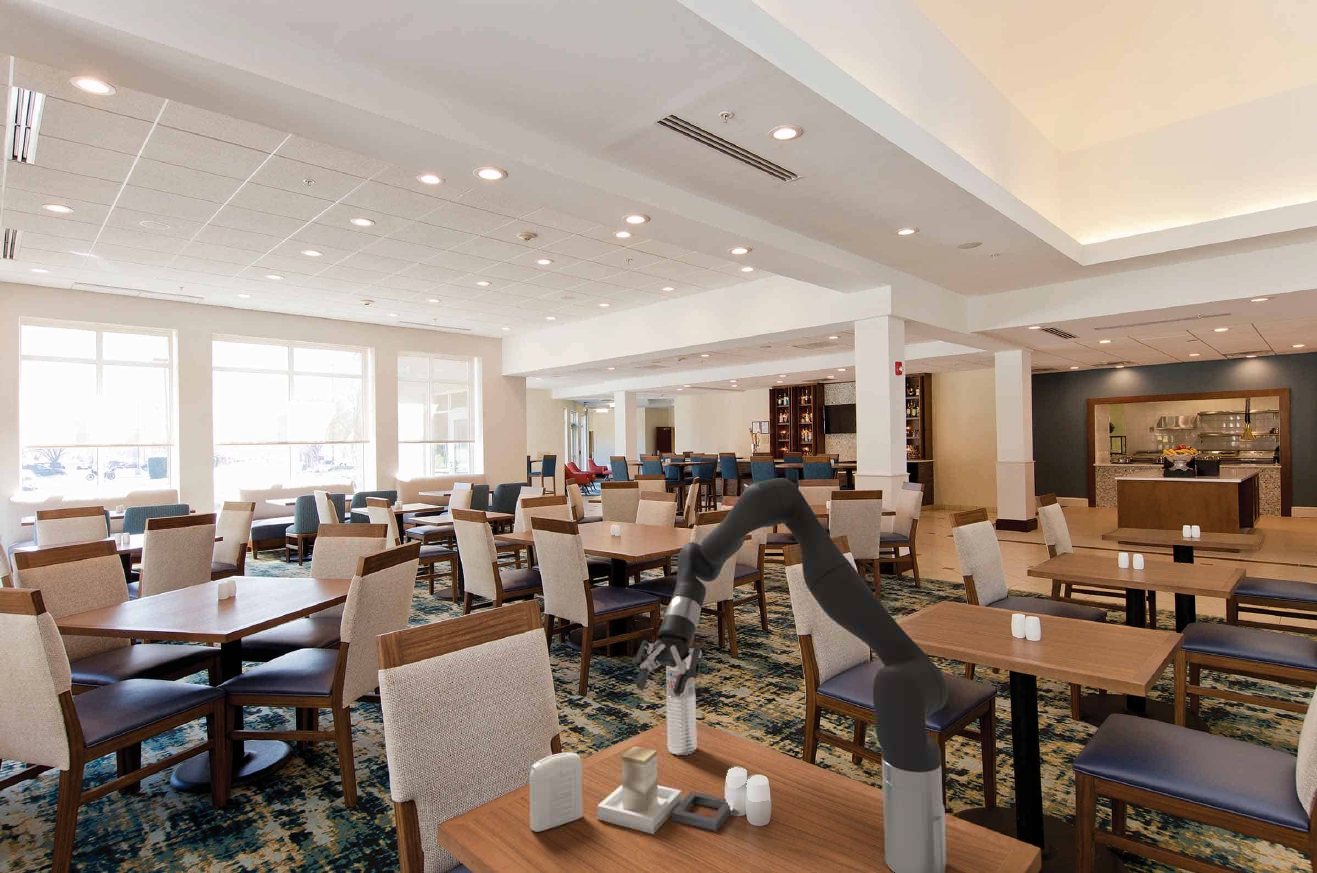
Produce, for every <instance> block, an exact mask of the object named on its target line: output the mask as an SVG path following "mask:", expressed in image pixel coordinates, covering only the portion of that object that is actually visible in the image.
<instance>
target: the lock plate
mask: <svg viewBox="0 0 1317 873" xmlns="http://www.w3.org/2000/svg"><path fill="white" fill-rule="evenodd" d="M726 799H727V798H723V797H719V796H714V795H710V794H705V793H700V792H697V791H690V793H688V795H687V796H685V798H684V799H682V802H681V803H680V804H679V805H678V806H677V807H676V808H675V809H674V810H673V812H672V815H671V821H672V822H676V823H679V824H683V825H688V826H691V827H695V828H699V829H703V830H707V831H710V832H711V831H712V832H715V833H717V831H718V830H719V829H720V828H721V826H722V825H723V824H724V822H725V821H726V819H727V818H728V817H729V816H730V815H731V813H732V812H731V810H730V806H729V805H728V803H727V802H726ZM694 805H699V806H704V807H708V808H712V809H717V811H716V812H715V814H713V816H712V817H709V816H704V815H701V814H698V813H697V814H696V813H693V812H689V811H690V810H691V809H692V808H693V807H694Z"/></svg>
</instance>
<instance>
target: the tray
mask: <svg viewBox="0 0 1317 873" xmlns="http://www.w3.org/2000/svg"><path fill="white" fill-rule="evenodd" d="M657 786H658V803H657V804H656V805H655V806H654V807H653V808H652V809H651V810H650V811H649V812H648V813H647V814H646V815H644V814H640V813H636V812H632V811H628V810H624V809H623V794H622V784H621V785H620V786H619V787H617V788H616V789H615V790H614V791H612V793H610V794H609V795H608V796H607V797H605V798H604V799H603V800H602V801H601V802H600V803H598V805H597V806H596V808H597V809H596V811H597V812H596V814H597V815H596V816H597V820H600V821H602V820H603V822H607V823H609V824H615V825H618V826H622V827H625V828H629V827H630V828H629V829H633V830H637V831H641V832H643V833H648V834H651V835H654V834H656V832H657V831H658V830H659V829H660V827H662V826H663V824H664V823H665V822H666V821H667V820H668V819H669V818H670V817H672V812H673V810H674V809H675V808H676V807H677V806H678V805H679V804H680V803H681V802H682V801H683V794H682V792H683V791H682V790H680V789H676V788H672V787H668V786H664V785H663V786H662V785H659V784H657Z"/></svg>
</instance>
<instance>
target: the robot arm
mask: <svg viewBox="0 0 1317 873" xmlns="http://www.w3.org/2000/svg"><path fill="white" fill-rule="evenodd" d="M782 524H783V525H784V526H785V527H787V529H788V530H789V532H791V534H792V535H793V537H794V539H795V540H796V542H797V544H798V546H799V549H800V554H801V566H802V574H803V578H804V579H803V580H804V583H805V584H806V587H807V589H808V591H809V592H810V593H811V595H812V596H813V598H814V599H815V601H816V602H817V604H818V605H819V606H820V608H821V609H822V610H823V612H824V613H825V614H826V615H827V616H828V617H829V618H830V619H831V620H832V621H833V622H835V623H837V625H838V626H840V627H841V628H843V629H845V630H846V631H848V632H849V633H850V634H852V635H854V636H855V637H856V638H858V639H859V640H860V641H862V642H863V643H865V644H866V646H868V647H869V648H870V650H872V651H873V652H874V654H875V655H876V656H877V658H879V660H880V661H881V663H882V664H883V667H882V668H880V669H879V670H878V672H877V673H876V675H875V677H874V681H873V683H872V685H873V686H872V700H873V702H872V703H873V713H874V727H875V734H876V739H877V741H878V744H879V746H880V749H881V768H882V769H881V770H882V772H881V774H882V798H883V799H882V800H883V801H882V802H883V803H882V804H883V831H884V832H883V833H884V859H885V860H884V861H885V864H887V865H888V866H887V865H886V866H887V868H888V867H889V868H890V869H891V870H892V871H893V872H892V871H891V870H890V869H889V868H888V869H889V870H890V871H891V872H892V873H894V872H895V873H946V869H947V843H946V840H947V839H946V837H947V836H946V815H945V814H946V813H945V812H946V811H945V810H946V809H945V805H944V804H943V802H944V801H943V781H942V780H943V779H942V752H941V747H940V745H939V744H938V742H937V741H936V740H934V739H933V738H930V737H928V733H927V732H928V731H927V723H926V720H927V719H926V717H928V716H930V715H932V714H934V713H936V712H938V711H939V710H941V709H942V708H943V707H944V706H945V705H946V704H947V701H948V698H949V690H948V684H947V680H946V679H945V677H944V675H943V673H942V672H941V670H940V669H939V667H938V666H937V665H936V664H935V663H934V661H932V659H931V658H930V657H929V656H928V655H927V654H926V653H925V651H923V650H922V648H921V647H919V645H918V644H916V642H915V641H914V640H913V639H912V638H911V637H910V636H909V635H908V634H907V633H906V632H905V630H904V629H903V628H902V627H901V626H900V625H899V623H898V622H897V621H896V620H895V618H893V616H892V615H891V613H890V612H889V611H888V610H887V609H886V607H885V605H883V604H882V602H881V601H880V600H879V599H878V597H877V596H876V594H875V593H873V591H872V589H871V588H870V587H869V586H868V584H867V583H866V581H865V579H863V578H862V576H861V574H859V573H858V572H859V571H857V569H856V568H855V567H854V566H853V564H852V563H851V562H850V561H849V559H847V557H846V556H845V555H844V553H842V551H841V550H840V548H839V547H838V546H837V544H836V543H835V541H834V540H833V539H832V538H831V536H830V535H829V533H828V532H827V531H826V530H825V528H824V527H823V525H822V524H821V522H820V521H819V519H818V518H817V516H816V514H815V512H814V511H813V509H812V508H811V506H810V505H809V503H808V501H807V500H806V498H805V496H804V495H803V494H802V492H801V490H800V489H799V488H798V486H797V485H796V484H795V483H794V482H793V481H791V480H790V479H788V478H785V477H776V478H772V479H771V478H770V479H766V480H761V481H756V482H754V483H751V484H750V485H748V486H747V487H746V488H745V489H744V490H743V492H742V493H741V494H740V496H739V498H737V500H736V502H735V503H734V505H733V506H732V507H731V509H730V511H729V512H728V514H727V515H726V516H725V517H724V518H723V520H722V521H721V522H720V523H719V524H718V525H717V526H716V527H715V528H713V529H712V531H711V532H710V533H708V535H706V536H705V537H704V538H703V539H702V541H701V543H700V544H699V543H697V542H694V541H690V542H687V543H685V544H684V545H683V546H682V548H680V550H679V553H678V556H677V566H676V568H677V574H676V584H675V588H674V591H673V594H672V597H671V600H670V602H669V603H668V605H667V609H666V610H665V614H664V616H663V619H662V622H661V625H660V628H659V631H658V635H657V640H656V641H655V642H654V643H649V642H648V641H647V640H643V641H641V644H640V646H639V648H638V650H637V653H636V656H635V657H634V659H633V660H634V661H633V665H634V667H635V668H636V670H637V671H638V674H637V677H636V679H635V685H636V688H637V689H638V691H644V689H645V687H646V683H647V680H648V677H649V673H651V672H652V671H653V670H655V669H658V668H659V667H660V666H661V667H666V666H670V667H674V668H675V666H678V668H679V671H680V675H678V677H677V680H676V684H675V687H674V694H675V695H676V696H680V694H682V693H683V692H684V689H685V685H686V682H687V680H688V679H689V678H692V677H693V678H695V679H696V678H698V677H699V673H700V668H701V664H702V659H703V655H704V653H703V651H702V650H701V648H700V647H699V646H698V645H695V646H694V647H693V648H692V647H691V646H692V644H693V641H694V637H695V634H696V631H697V627H698V626H699V621H700V616H701V610H702V607H703V605H704V601H705V598H706V594H707V590H706V589H707V588H706V586H705V585H704V583H703V582H706V583H710V582H713V581H715V580H716V579H717V578H718V577H719V576H720V574H721V570H722V569H723V567H724V564H725V563H726V562H727V560H729V559H730V558H732V557H733V555H735V554H736V553H737V552H738V551H739V550H740V549H741V548H742V547H743V545H744V542H745V539H746V537H747V535H748V534H750V533H752V532H754V531H756V530H758V529H761V528H769V527H773V526H777V525H782ZM652 651H653V652H652ZM689 655H690V656H691V658H692V659H691V663H690V667H689V669H686V666H685V664H684V662H683V661H684V660H685V659H686V658H687V657H688V656H689ZM655 659H656V660H655ZM945 868H946V869H945Z"/></svg>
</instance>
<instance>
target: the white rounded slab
mask: <svg viewBox="0 0 1317 873" xmlns="http://www.w3.org/2000/svg"><path fill="white" fill-rule="evenodd" d="M583 811H584V810H583V764H582V758H581V756H580V755H579V754H578V753H575V752H560V753H556V754H551V755H548V756H546V757H544V758H542V759H540V760H538V761H537V762H535V763H534V764H532V765H531V766H530V769H529V820H530V821H529V822H530V824H529V825H530V829H531V831H533V832H536V833H537V832H542V831H546V830H549V829H552V828H556V827H559V826H562V825H565V824H567V823H571V822H574V821H577V820H580V819H581V818H582V817H583Z"/></svg>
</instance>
